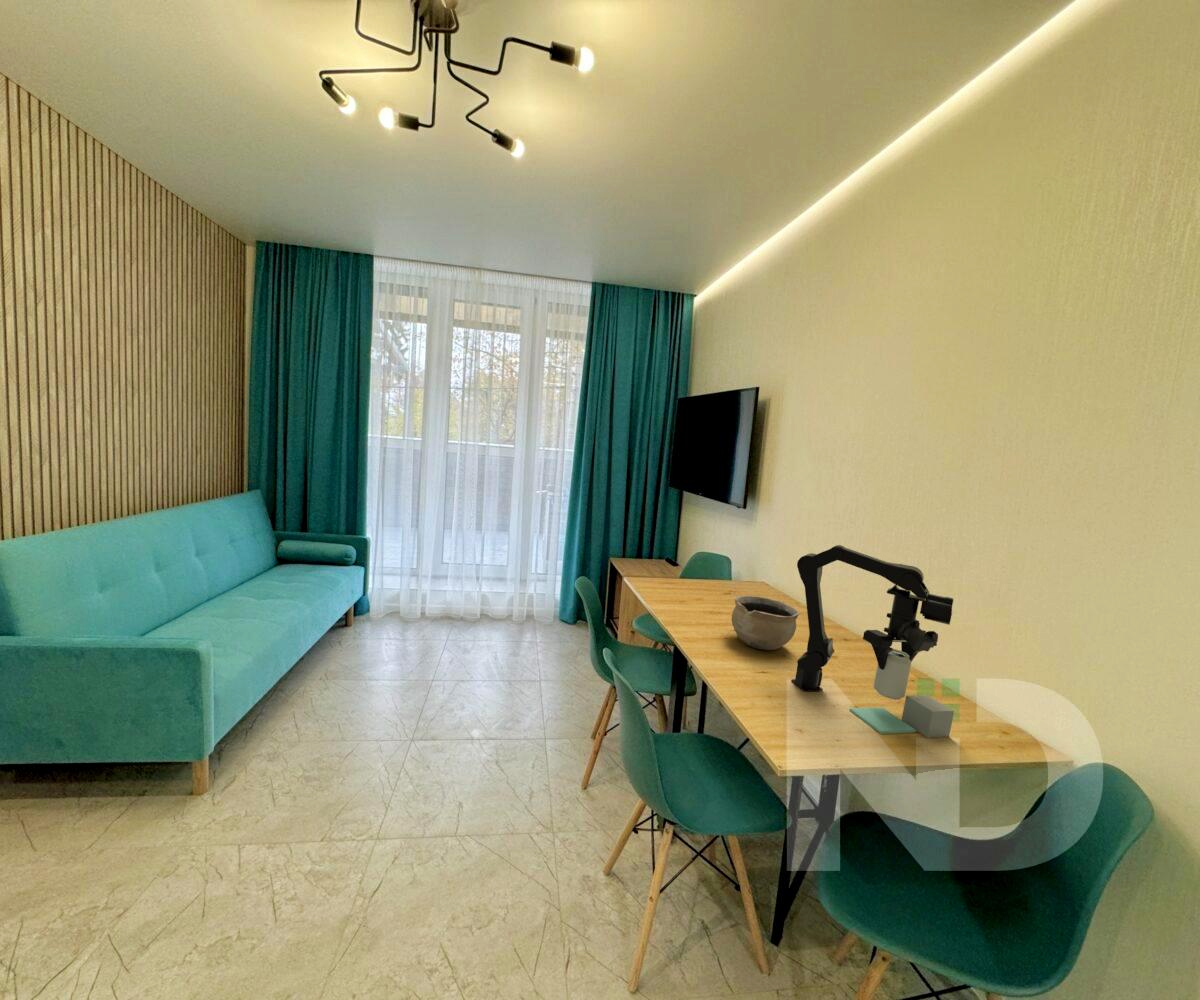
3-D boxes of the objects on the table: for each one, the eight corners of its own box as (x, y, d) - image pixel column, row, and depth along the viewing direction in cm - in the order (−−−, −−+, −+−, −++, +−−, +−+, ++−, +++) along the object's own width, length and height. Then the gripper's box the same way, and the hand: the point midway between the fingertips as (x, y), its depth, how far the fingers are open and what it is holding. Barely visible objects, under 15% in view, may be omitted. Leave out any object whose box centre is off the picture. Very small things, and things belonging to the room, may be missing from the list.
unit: (927, 737, 128) (932, 710, 127) (901, 720, 136) (906, 694, 135) (950, 736, 130) (955, 710, 129) (923, 719, 138) (928, 694, 137)
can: (904, 704, 133) (913, 660, 131) (872, 694, 136) (880, 651, 135) (903, 693, 139) (912, 652, 138) (873, 684, 143) (880, 643, 142)
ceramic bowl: (715, 634, 185) (721, 594, 183) (761, 631, 194) (767, 593, 193) (758, 661, 165) (765, 616, 163) (806, 656, 174) (813, 614, 173)
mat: (880, 733, 127) (881, 731, 127) (849, 710, 138) (849, 708, 138) (915, 732, 130) (916, 729, 130) (882, 709, 141) (882, 707, 141)
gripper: (901, 624, 125) (890, 684, 127) (958, 625, 130) (946, 682, 132) (866, 608, 135) (856, 664, 137) (920, 610, 141) (910, 663, 143)
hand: (893, 668), depth 137 cm, fingers closed on can, 7 cm apart
